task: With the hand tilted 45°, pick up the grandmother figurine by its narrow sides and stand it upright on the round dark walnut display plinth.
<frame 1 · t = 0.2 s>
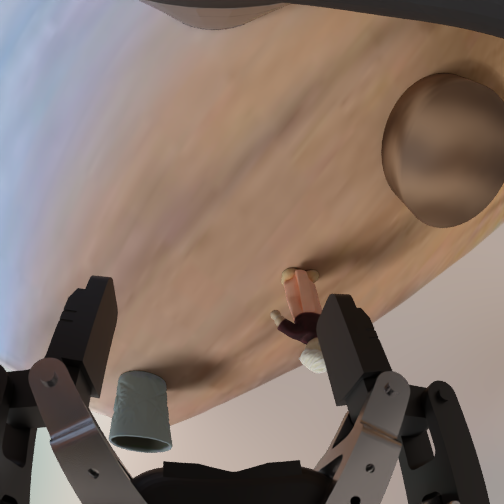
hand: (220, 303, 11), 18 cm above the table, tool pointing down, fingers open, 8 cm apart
grandmother figurine: (294, 275, 37), on the table
walnut plinth: (443, 144, 27), on the table
grey-green cup: (143, 381, 49), on the table
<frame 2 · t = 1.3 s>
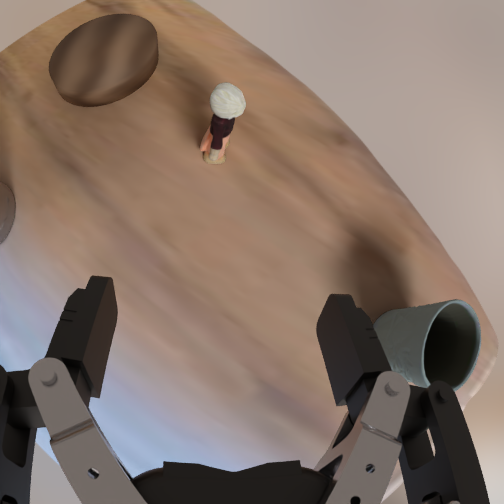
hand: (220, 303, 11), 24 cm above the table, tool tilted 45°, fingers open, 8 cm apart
grandmother figurine: (215, 153, 37), on the table
walnut plinth: (105, 64, 36), on the table
grey-green cup: (392, 338, 38), on the table
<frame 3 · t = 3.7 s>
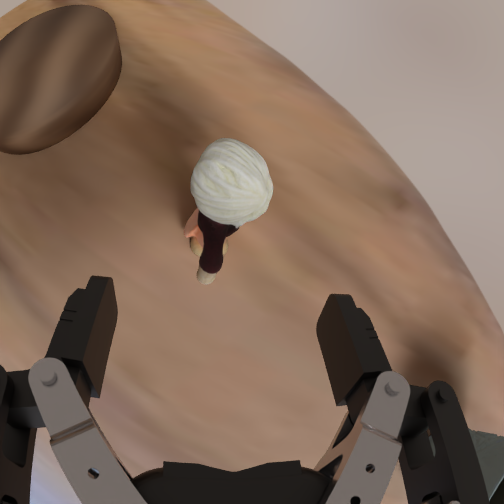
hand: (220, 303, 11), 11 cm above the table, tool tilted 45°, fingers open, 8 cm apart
grandmother figurine: (210, 235, 23), on the table
walnut plinth: (46, 82, 22), on the table
grey-green cup: (435, 456, 24), on the table
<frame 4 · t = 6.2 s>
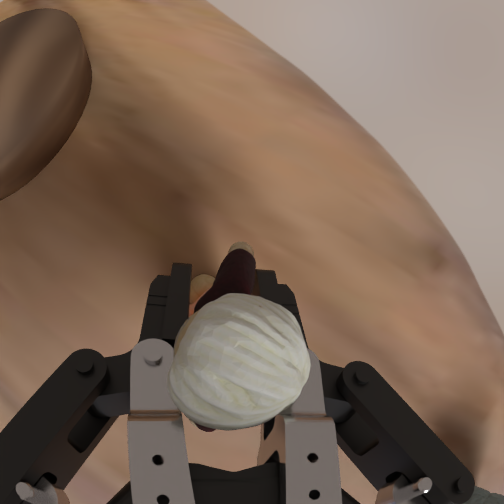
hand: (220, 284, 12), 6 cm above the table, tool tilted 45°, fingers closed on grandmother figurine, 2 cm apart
grandmother figurine: (203, 324, 18), on the table, touching gripper
walnut plinth: (4, 110, 17), on the table
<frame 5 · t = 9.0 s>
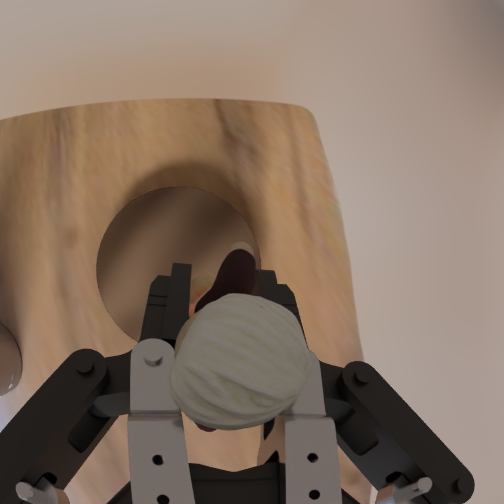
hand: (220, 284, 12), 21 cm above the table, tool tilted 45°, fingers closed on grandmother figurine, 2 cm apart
grandmother figurine: (203, 324, 18), point 15 cm above the table, touching gripper
walnut plinth: (179, 271, 33), on the table
when the fingers open (11 cm above the table, at t = 12.3 s): grandmother figurine drops 1 cm, resting on walnut plinth.
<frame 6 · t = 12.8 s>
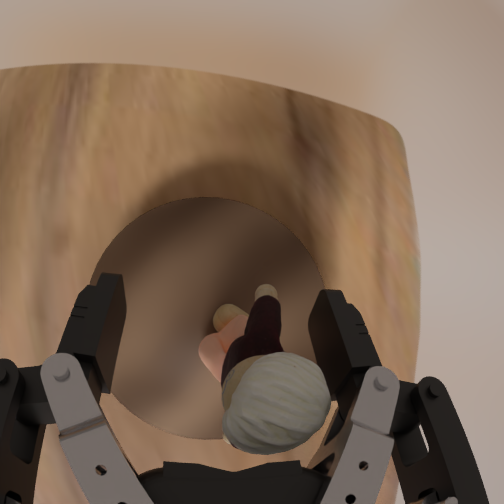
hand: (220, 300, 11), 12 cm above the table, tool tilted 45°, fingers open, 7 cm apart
grandmother figurine: (228, 348, 19), point 4 cm above the table, touching walnut plinth
walnut plinth: (205, 318, 23), on the table
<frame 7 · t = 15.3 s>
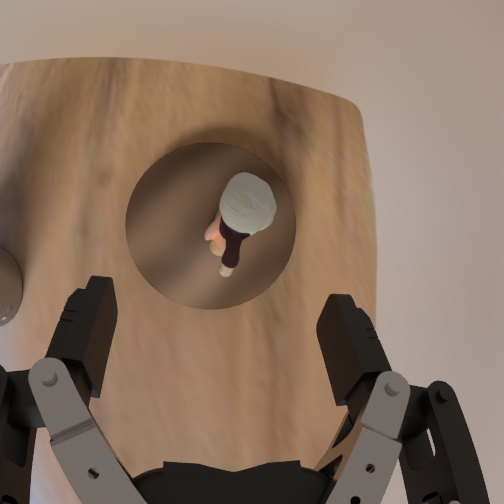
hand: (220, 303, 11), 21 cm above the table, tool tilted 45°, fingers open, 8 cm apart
grandmother figurine: (225, 239, 29), point 4 cm above the table, touching walnut plinth
walnut plinth: (209, 229, 32), on the table
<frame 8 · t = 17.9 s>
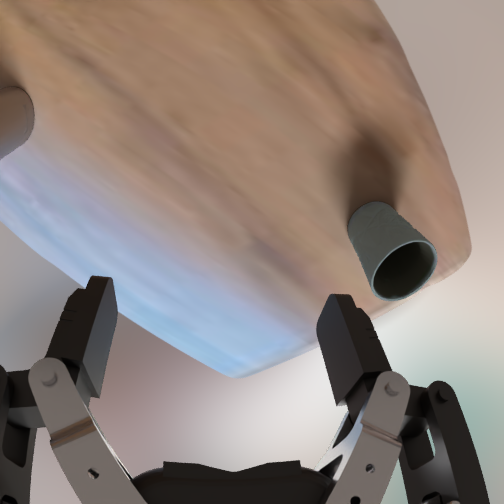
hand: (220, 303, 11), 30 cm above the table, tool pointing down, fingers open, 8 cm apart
grey-green cup: (371, 222, 47), on the table
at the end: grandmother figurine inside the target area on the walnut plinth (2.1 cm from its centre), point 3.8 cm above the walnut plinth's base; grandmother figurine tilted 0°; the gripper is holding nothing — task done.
